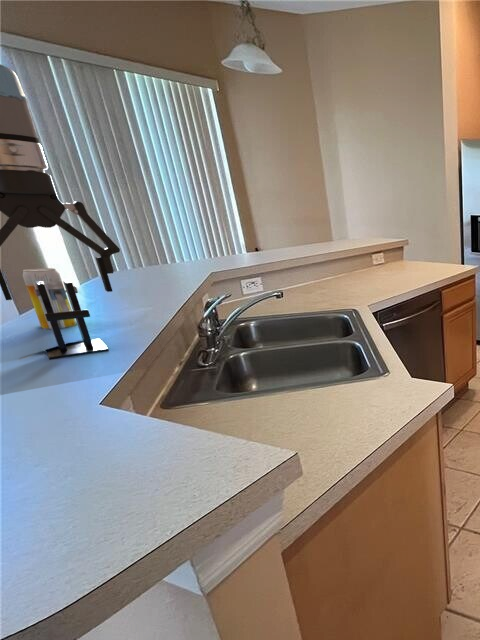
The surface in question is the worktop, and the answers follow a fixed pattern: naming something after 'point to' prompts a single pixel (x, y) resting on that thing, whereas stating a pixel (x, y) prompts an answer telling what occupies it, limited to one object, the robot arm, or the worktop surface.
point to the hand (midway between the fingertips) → (61, 294)
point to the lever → (62, 304)
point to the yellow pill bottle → (47, 277)
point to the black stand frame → (87, 344)
